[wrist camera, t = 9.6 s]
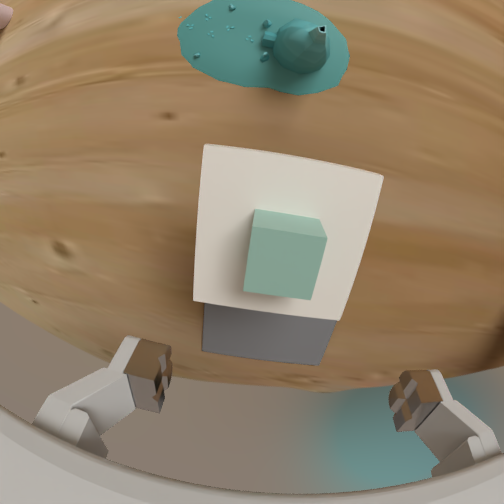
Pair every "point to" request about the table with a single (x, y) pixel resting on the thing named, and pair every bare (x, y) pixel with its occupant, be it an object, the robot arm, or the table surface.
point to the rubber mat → (265, 335)
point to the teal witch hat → (265, 45)
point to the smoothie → (5, 15)
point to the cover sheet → (287, 194)
